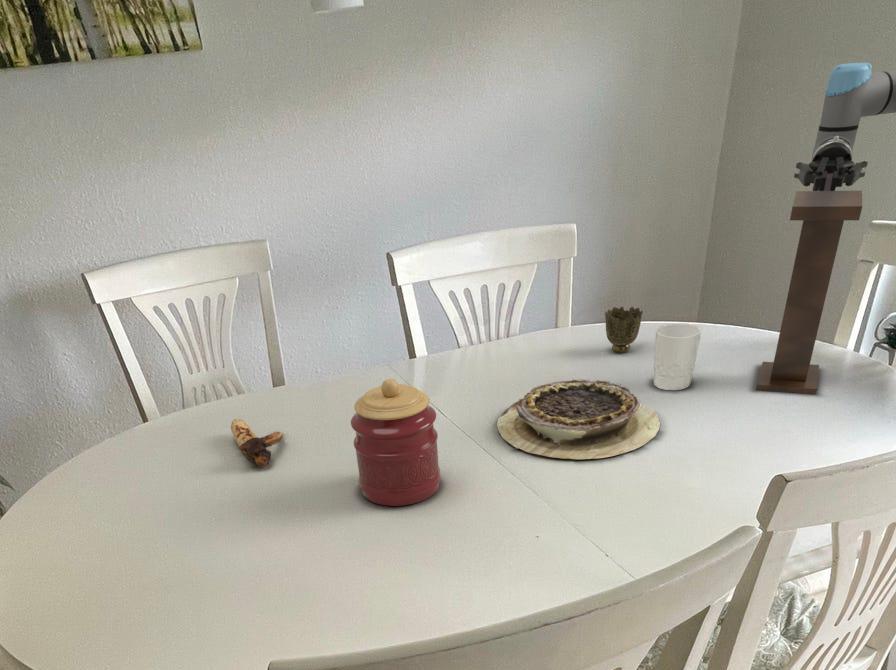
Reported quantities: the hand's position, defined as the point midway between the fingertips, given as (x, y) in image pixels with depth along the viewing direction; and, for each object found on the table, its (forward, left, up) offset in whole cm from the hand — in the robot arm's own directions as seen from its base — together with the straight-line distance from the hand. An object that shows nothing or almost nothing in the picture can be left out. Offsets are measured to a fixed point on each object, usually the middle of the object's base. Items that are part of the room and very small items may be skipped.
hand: (827, 186), depth 143 cm
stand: (0, +22, -28) cm, 36 cm away
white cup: (+20, +28, -28) cm, 45 cm away
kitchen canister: (+54, +79, -28) cm, 100 cm away
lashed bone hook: (+85, +72, -28) cm, 115 cm away
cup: (+33, +12, -28) cm, 45 cm away
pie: (+33, +50, -28) cm, 66 cm away
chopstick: (0, +2, -2) cm, 3 cm away
